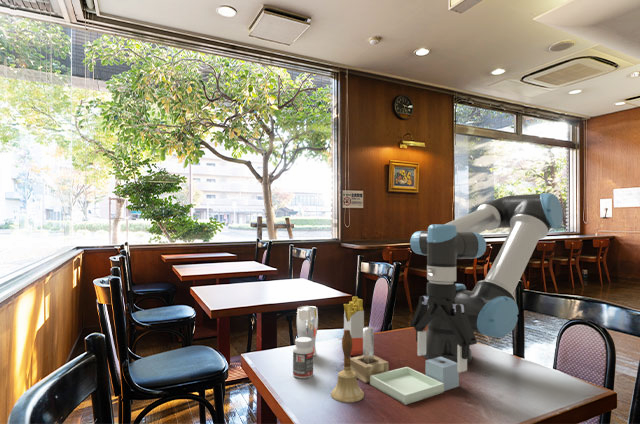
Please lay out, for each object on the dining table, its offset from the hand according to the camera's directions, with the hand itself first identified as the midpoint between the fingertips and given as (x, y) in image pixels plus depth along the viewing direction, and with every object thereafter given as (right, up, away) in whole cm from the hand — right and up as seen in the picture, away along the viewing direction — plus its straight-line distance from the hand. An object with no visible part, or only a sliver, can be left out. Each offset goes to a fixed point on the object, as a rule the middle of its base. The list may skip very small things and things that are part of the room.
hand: (440, 362), depth 100 cm
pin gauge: (-18, -6, +6) cm, 20 cm away
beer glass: (-36, -7, +22) cm, 43 cm away
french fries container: (-21, -7, +24) cm, 33 cm away
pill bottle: (-37, -6, +6) cm, 38 cm away
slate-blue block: (0, -6, 0) cm, 6 cm away
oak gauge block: (-19, -6, +6) cm, 20 cm away
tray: (-10, -6, -2) cm, 12 cm away
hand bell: (-25, -6, -6) cm, 27 cm away
